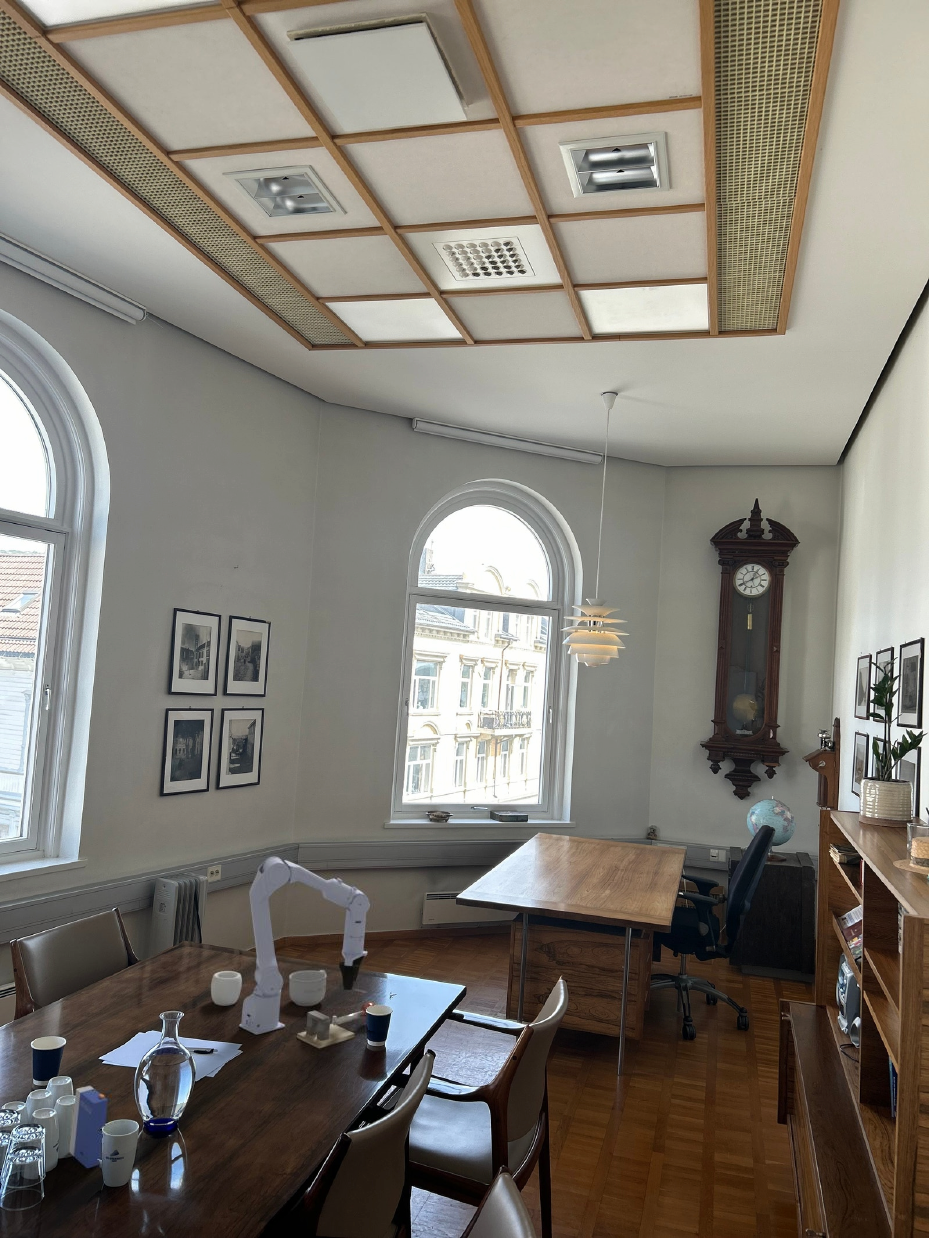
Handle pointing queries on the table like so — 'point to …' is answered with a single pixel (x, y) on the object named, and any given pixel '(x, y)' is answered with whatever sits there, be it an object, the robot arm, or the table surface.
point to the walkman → (88, 1126)
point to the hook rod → (352, 1015)
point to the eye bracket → (323, 1031)
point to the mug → (226, 987)
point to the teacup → (307, 987)
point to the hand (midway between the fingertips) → (349, 984)
